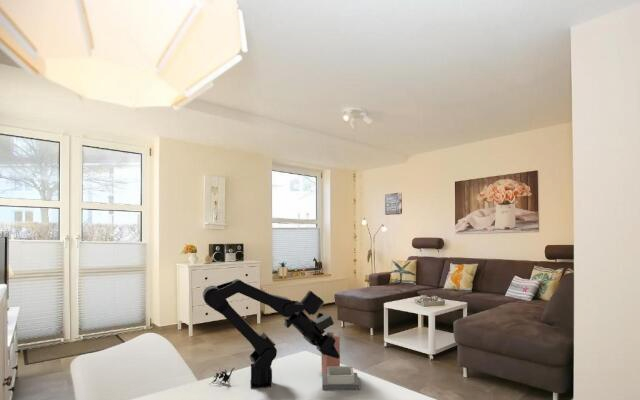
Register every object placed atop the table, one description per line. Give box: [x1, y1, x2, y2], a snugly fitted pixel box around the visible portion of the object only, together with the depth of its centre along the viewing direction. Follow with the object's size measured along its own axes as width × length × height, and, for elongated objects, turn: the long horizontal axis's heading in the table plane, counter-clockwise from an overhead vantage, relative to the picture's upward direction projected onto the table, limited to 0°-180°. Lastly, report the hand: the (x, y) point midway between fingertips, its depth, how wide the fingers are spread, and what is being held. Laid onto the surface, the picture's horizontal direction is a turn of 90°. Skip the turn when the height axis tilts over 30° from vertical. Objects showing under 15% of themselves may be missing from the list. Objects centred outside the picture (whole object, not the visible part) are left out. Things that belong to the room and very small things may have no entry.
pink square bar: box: [321, 331, 341, 373], centre depth 137 cm, size 5×5×14 cm
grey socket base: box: [321, 365, 361, 391], centre depth 127 cm, size 12×10×4 cm
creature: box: [209, 367, 235, 386], centre depth 129 cm, size 8×5×8 cm
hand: (334, 353), depth 137 cm, fingers open, 9 cm apart
